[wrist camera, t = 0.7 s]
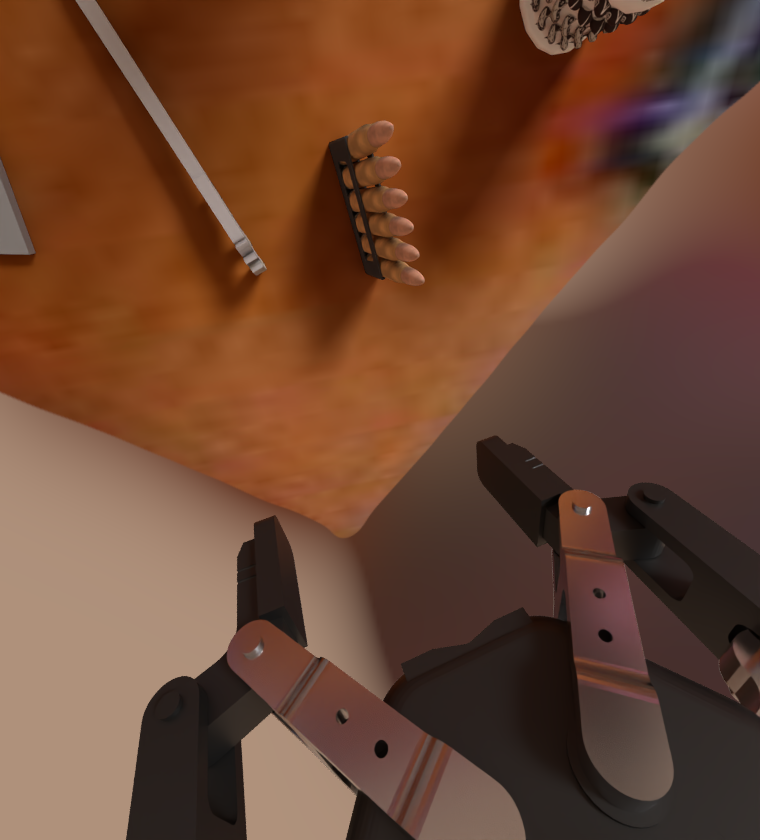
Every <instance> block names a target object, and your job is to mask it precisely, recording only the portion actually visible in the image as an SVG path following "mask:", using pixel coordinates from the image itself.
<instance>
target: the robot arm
mask: <svg viewBox="0 0 760 840" xmlns="http://www.w3.org/2000/svg"><path fill="white" fill-rule="evenodd" d="M476 449H477V472H478V476H479V478H480V481H481V482H482V484H483V485H484V487H485V488H486V489H487V490H488V491H489V492H490V493H491V495H492V496H493V497H494V498H495V499H496V500H497V501H498V503H499V504H500V505H501V506H502V507H503V508H504V510H505V511H506V512H507V513H508V514H509V515H510V517H511V518H512V519H513V520H514V521H515V522H516V523H517V525H518V526H519V527H520V528H521V529H522V530H523V531H524V533H525V534H526V535H527V536H528V537H529V538H530V539H531V541H532V542H533V543H534V544H535V545H536V546H537V547H539V546H541V545H543V544H546V543H548V544H549V545H550V546H551V547H552V567H553V568H552V570H553V591H554V611H553V617H547V616H529V615H528V614H527V613H526V611H525V610H524V608H520V609H518V610H516V611H514V612H512V613H509V614H507V615H505V616H503V617H501V618H499V619H496V620H494V621H493V622H492V623H491V624H490V625H489V626H488V627H487V628H485V629H484V630H483V631H482V632H481V633H480V634H479V635H478V636H477V637H475V638H474V639H473V640H472V641H471V642H470V643H468V644H464V645H458V646H451V647H445V648H438V649H432V650H430V651H428V652H426V653H424V654H421V655H419V656H417V657H415V658H413V659H411V660H409V661H406V662H404V663H402V664H401V666H402V669H403V672H404V675H402V676H401V677H400V678H399V679H398V680H397V681H396V682H395V683H394V685H393V686H392V687H391V689H390V690H389V691H388V693H387V694H386V696H385V698H384V700H383V701H382V700H381V699H380V698H378V697H377V696H376V695H374V694H373V693H371V692H370V691H369V690H368V689H366V688H365V687H364V686H362V685H361V684H359V683H358V682H357V681H355V680H354V679H353V678H351V677H350V676H349V675H347V674H346V673H345V672H343V671H342V670H341V669H339V668H338V667H337V666H335V665H334V664H333V663H331V662H330V661H328V660H327V659H325V658H323V657H320V658H317V657H315V656H314V655H312V654H311V653H310V652H309V651H307V650H306V649H305V647H307V646H308V645H307V639H306V633H305V626H304V620H303V614H302V608H301V601H300V594H299V588H298V582H297V575H296V569H295V562H294V557H293V553H292V549H291V546H290V544H289V541H288V539H287V537H286V535H285V533H284V531H283V529H282V527H281V525H280V523H279V521H278V519H277V517H276V516H275V515H274V516H272V517H269V518H266V519H264V520H261V521H258V522H255V523H254V539H253V540H250V541H247V542H244V543H243V545H242V547H241V550H240V552H239V554H238V557H237V571H238V573H237V582H238V585H237V631H236V634H235V635H234V637H233V639H232V640H231V642H230V644H229V647H228V650H227V652H226V653H225V654H224V655H223V656H222V657H221V658H220V660H218V661H217V662H216V663H215V664H213V665H212V666H211V667H209V668H208V669H207V670H206V671H204V672H203V673H202V674H200V675H199V676H198V677H197V678H195V679H193V678H191V677H187V676H182V677H178V678H175V679H173V680H171V681H169V682H168V683H166V684H165V685H164V686H163V687H161V688H160V689H159V690H158V691H157V693H156V694H155V695H154V696H153V698H152V699H151V700H150V702H149V704H148V706H147V708H146V710H145V712H144V716H143V719H142V725H141V733H140V740H139V747H138V755H137V762H136V771H135V777H134V785H133V792H132V801H131V807H130V815H129V823H128V830H127V837H126V840H247V835H246V818H245V800H244V782H243V765H242V748H241V739H243V738H244V737H245V736H246V735H247V734H248V733H249V732H250V731H251V730H253V729H254V728H255V727H256V726H257V725H258V724H259V723H260V722H261V721H262V720H263V719H265V718H266V717H267V716H268V715H269V714H270V713H272V714H273V715H274V716H275V717H276V718H277V719H278V720H279V721H280V722H281V723H282V724H283V725H284V726H285V727H286V728H287V729H288V730H289V731H290V732H291V733H292V734H294V735H295V736H296V737H297V738H298V739H299V740H300V741H301V742H302V743H303V744H304V745H305V746H306V747H307V748H308V749H309V750H310V751H311V752H312V753H313V754H314V755H315V756H316V757H317V758H318V759H319V760H320V761H321V762H322V763H323V764H324V765H325V766H326V767H327V768H328V769H329V770H330V771H331V772H332V773H333V774H334V775H335V776H336V777H337V778H338V779H339V780H340V781H341V782H342V783H343V784H344V785H345V786H347V788H348V789H349V790H351V791H352V792H353V793H354V794H355V795H356V796H357V797H356V801H355V805H354V809H353V813H352V817H351V821H350V825H349V829H348V833H347V837H346V840H760V555H759V554H758V553H756V552H755V551H754V550H752V549H751V548H750V547H748V546H747V545H746V544H744V543H743V542H741V541H740V540H739V539H737V538H736V537H734V536H733V535H732V534H730V533H729V532H727V531H726V530H725V529H723V528H722V527H721V526H719V525H718V524H717V523H715V522H714V521H712V520H711V519H710V518H708V517H707V516H705V515H704V514H702V513H701V512H700V511H698V510H697V509H696V508H694V507H693V506H691V505H690V504H689V503H687V502H686V501H685V500H683V499H682V498H680V497H679V496H677V495H676V494H675V493H673V492H672V491H670V490H669V489H667V488H665V487H663V486H660V485H657V484H653V483H638V484H635V485H633V486H631V487H630V488H629V490H628V494H627V496H622V497H612V498H599V497H598V496H596V495H594V494H593V493H590V492H588V491H583V490H574V489H572V488H571V487H570V486H569V485H567V484H566V483H565V482H564V481H563V480H562V479H560V478H559V477H558V476H557V475H556V474H555V473H553V472H552V471H551V470H550V469H549V468H548V467H546V466H545V465H543V463H542V462H541V461H539V460H538V459H537V458H535V456H534V455H532V454H531V453H530V452H529V451H528V450H527V449H525V448H523V447H521V446H518V445H516V444H513V443H511V444H509V445H507V444H506V443H505V442H503V441H502V440H501V439H500V438H499V437H498V436H492V437H489V438H487V439H484V440H481V441H478V442H477V445H476ZM624 563H625V564H626V565H627V566H628V567H629V568H630V569H631V570H632V571H633V572H634V573H635V575H636V576H637V577H639V578H640V579H641V581H642V582H643V583H644V584H645V585H646V586H647V587H648V588H649V589H650V590H651V591H652V592H653V593H654V594H655V595H656V596H657V597H658V598H659V599H660V600H661V601H662V602H663V603H664V604H665V605H666V606H667V607H668V608H669V609H670V610H671V611H672V612H673V613H674V614H675V615H676V616H677V617H678V618H679V619H680V620H681V621H682V622H683V623H684V624H685V625H686V626H687V627H688V628H689V629H690V631H691V632H692V633H694V635H695V636H696V637H697V638H698V639H699V640H700V641H701V642H702V643H703V644H704V645H705V646H706V647H707V648H708V649H709V650H710V651H711V652H712V653H713V654H714V655H715V656H716V657H717V658H718V659H719V669H720V672H721V675H722V677H723V679H724V680H725V682H726V683H727V685H728V686H729V690H730V692H731V694H732V695H733V697H734V698H735V699H736V700H738V701H739V702H740V703H737V702H736V701H734V700H732V699H730V698H728V697H726V696H724V695H722V694H719V693H718V692H715V691H713V690H711V689H709V688H707V687H705V686H703V685H701V684H698V683H696V682H694V681H692V680H690V679H688V678H686V677H684V676H681V675H679V674H677V673H675V672H673V671H671V670H669V669H667V668H664V667H662V666H660V665H658V664H656V663H654V662H652V661H650V660H648V659H645V657H644V653H643V648H642V643H641V639H640V634H639V630H638V625H637V620H636V616H635V612H634V607H633V603H632V597H631V593H630V588H629V584H628V579H627V574H626V570H625V565H624Z"/></svg>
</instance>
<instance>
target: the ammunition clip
mask: <svg viewBox="0 0 760 840" xmlns="http://www.w3.org/2000/svg"><path fill="white" fill-rule="evenodd" d="M393 131H394V127H393V125H392V124H391V123H390V122H388V121H378V122H376V123H373V124H365V125H363V126H362V127H360V128H359V129H357V130H355V131H354V132H352V133H351V134H349V135H347V136H345V137H342V138H340V139H337V140H334V141H332V142H329V148H330V151H331V155H332V158H333V161H334V165H335V168H336V172H337V175H338V179H339V182H340V186H341V189H342V193H343V196H344V199H345V203H346V206H347V210H348V213H349V217H350V220H351V224H352V227H353V231H354V234H355V237H356V241H357V244H358V248H359V251H360V255H361V258H362V262H363V265H364V269H365V272H366V273H367V274H368V275H371V276H373V277H376V278H379V279H381V280H384V279H385V278H388V279H390V280H392V281H394V282H397V283H405V284H408V285H413V286H417V285H422V284H423V283H424V282H425V280H424V277H423V275H422V274H421V273H420V272H419V271H417V270H416V269H414V268H412V267H410V266H408V265H407V264H406V263H405V262H402V261H407V262H409V261H414V260H416V259H418V258H419V252H418V250H417V249H416V248H415V247H413V246H412V245H410V244H407V243H405V242H402V241H401V240H400V239H398V238H393V236H404V235H408V234H409V233H411V232H412V231H413V229H414V226H413V224H412V223H411V222H410V221H409V220H408V219H406V218H403V217H399V216H396V215H394V214H392V213H387V211H388V210H390V209H395V208H399V207H401V206H403V205H404V204H405V203H406V202H407V200H408V196H407V194H406V193H405V192H404V191H402V190H400V189H396V188H388V187H385V186H381V185H380V183H381V182H383V181H384V180H386V179H388V178H391V177H392V176H394V175H395V174H397V172H398V171H399V170H400V168H401V162H400V161H399V160H398V159H397V158H395V157H392V156H386V157H378V156H375V157H374V155H373V153H374V152H376V151H377V149H378V148H379V147H380V146H382V145H383V144H385V143H386V142H387V141H388V140H389V139H390V137H391V136H392V134H393ZM366 156H367V157H368V159H365V160H362V161H360V160H359V159H361V158H364V157H366ZM371 185H375V187H372V188H366V186H371ZM381 212H382V213H381Z"/></svg>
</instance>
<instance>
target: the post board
mask: <svg viewBox="0 0 760 840" xmlns="http://www.w3.org/2000/svg"><path fill="white" fill-rule="evenodd" d="M34 253H35V250H34V247H33V245H32V242H31V239H30V236H29V234H28V231H27V228H26V226H25V223H24V220H23V218H22V215H21V212H20V209H19V207H18V204H17V201H16V199H15V196H14V193H13V191H12V188H11V185H10V182H9V180H8V177H7V174H6V172H5V169H4V166H3V164H2V161H1V158H0V254H25V255H30V254H34Z"/></svg>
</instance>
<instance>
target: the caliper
mask: <svg viewBox="0 0 760 840" xmlns="http://www.w3.org/2000/svg"><path fill="white" fill-rule="evenodd" d="M76 2H77V3H78V5H79V6H80V8H81V10H82V11H83V13H84V14H85V16H86V17H87V19H88V20H89V22H90V23H91V25H92V26H93V28H94V29H95V31H96V33H97V34H98V36H99V37H100V39H101V40H102V42H103V43H104V45H105V46H106V48H107V49H108V51H109V52H110V54H111V56H112V57H113V59H114V60H115V62H116V63H117V65H118V66H119V68H120V69H121V71H122V72H123V74H124V75H125V77H126V78H127V80H128V82H129V83H130V85H131V86H132V88H133V89H134V91H135V92H136V94H137V95H138V97H139V98H140V100H141V101H142V103H143V105H144V106H145V108H146V109H147V111H148V112H149V114H150V115H151V117H152V118H153V120H154V121H155V123H156V124H157V126H158V127H159V129H160V131H161V132H162V134H163V135H164V137H165V138H166V140H167V141H168V143H169V144H170V146H171V147H172V149H173V150H174V152H175V154H176V155H177V157H178V158H179V160H180V161H181V163H182V164H183V166H184V167H185V169H186V170H187V172H188V173H189V175H190V176H191V178H192V180H193V182H194V183H195V185H196V186H197V188H198V189H199V191H200V192H201V194H202V195H203V197H204V199H205V200H206V202H207V203H208V205H209V206H210V208H211V209H212V211H213V212H214V214H215V215H216V217H217V218H218V220H219V222H220V223H221V225H222V226H223V228H224V229H225V231H226V232H227V234H228V235H229V237H230V238H231V240H232V241H233V243H234V244H235V245H236V247H235V248H236V249H237V250H238V252H239V253H240V254H241V256H242V257H243V259H244V261H245V263H246V264H247V265H248V266H249V267H250V269H251V270H252V272H253V273H254V274H255V275H256V276H257V275H259V274H260V273H262V272H264V271H265V270H267V269H266V267H265V265H264V263H263V261H262V260H261V259H260V257H259V256H258V255H257V254H256V252H255V250H254V249H253V247H252V244H251V242H250V241H249V239H248V238H247V237H246V235H245V234H244V232H243V231H242V229H241V228H240V226H239V225H238V223H237V222H236V220H235V219H234V217H233V215H232V214H231V212H230V211H229V209H228V207H227V206H226V204H225V203H224V201H223V200H222V198H221V196H220V195H219V193H218V192H217V190H216V188H215V187H214V185H213V184H212V182H211V181H210V179H209V178H208V176H207V175H206V173H205V172H204V170H203V168H202V167H201V165H200V164H199V162H198V161H197V159H196V157H195V156H194V154H193V153H192V151H191V150H190V148H189V146H188V145H187V143H186V142H185V140H184V139H183V137H182V135H181V134H180V132H179V131H178V129H177V128H176V126H175V124H174V123H173V121H172V120H171V118H170V116H169V115H168V113H167V112H166V110H165V109H164V107H163V105H162V104H161V102H160V101H159V99H158V98H157V96H156V94H155V93H154V91H153V90H152V88H151V87H150V85H149V83H148V82H147V80H146V79H145V77H144V76H143V74H142V72H141V71H140V69H139V68H138V66H137V65H136V63H135V61H134V60H133V58H132V57H131V55H130V53H129V52H128V50H127V49H126V47H125V46H124V44H123V42H122V41H121V39H120V38H119V36H118V35H117V33H116V31H115V30H114V28H113V27H112V25H111V24H110V22H109V20H108V19H107V17H106V16H105V14H104V13H103V11H102V9H101V8H100V6H99V5H98V3H97V1H96V0H76Z"/></svg>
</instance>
